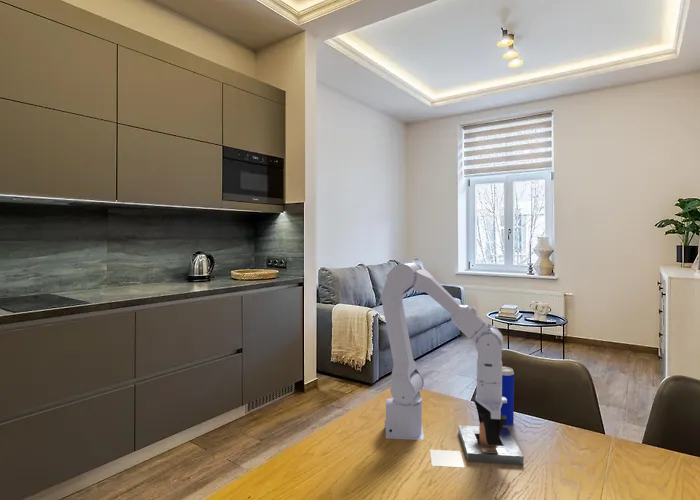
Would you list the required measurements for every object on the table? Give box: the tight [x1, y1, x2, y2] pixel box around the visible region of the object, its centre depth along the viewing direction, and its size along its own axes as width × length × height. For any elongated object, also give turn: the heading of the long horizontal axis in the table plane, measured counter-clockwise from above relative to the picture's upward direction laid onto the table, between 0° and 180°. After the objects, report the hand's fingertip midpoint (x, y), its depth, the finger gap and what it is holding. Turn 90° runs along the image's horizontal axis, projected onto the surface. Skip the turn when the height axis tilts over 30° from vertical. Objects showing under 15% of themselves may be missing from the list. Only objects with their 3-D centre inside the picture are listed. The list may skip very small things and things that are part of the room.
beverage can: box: [500, 365, 515, 427], centre depth 114 cm, size 5×5×15 cm
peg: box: [478, 422, 498, 446], centre depth 100 cm, size 4×4×6 cm
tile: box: [429, 448, 465, 469], centre depth 95 cm, size 7×7×1 cm
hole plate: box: [458, 424, 525, 466], centre depth 100 cm, size 12×14×3 cm
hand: (488, 436), depth 100 cm, fingers open, 7 cm apart
